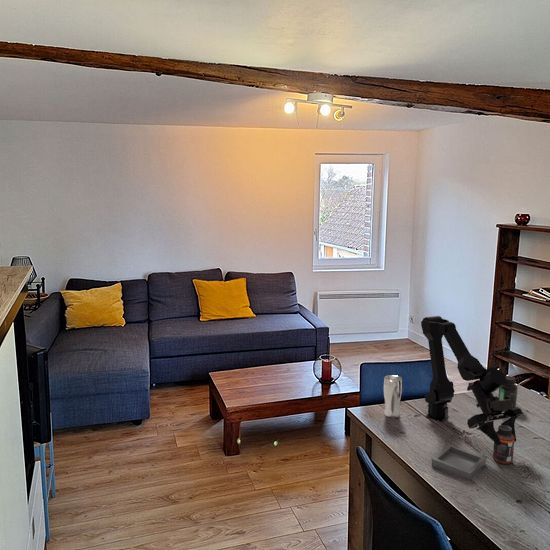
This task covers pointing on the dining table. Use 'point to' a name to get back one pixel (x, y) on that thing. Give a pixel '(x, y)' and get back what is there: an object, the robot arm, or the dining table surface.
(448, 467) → the tray
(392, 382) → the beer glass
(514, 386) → the supplement bottle
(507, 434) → the supplement bottle
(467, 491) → the dining table surface
